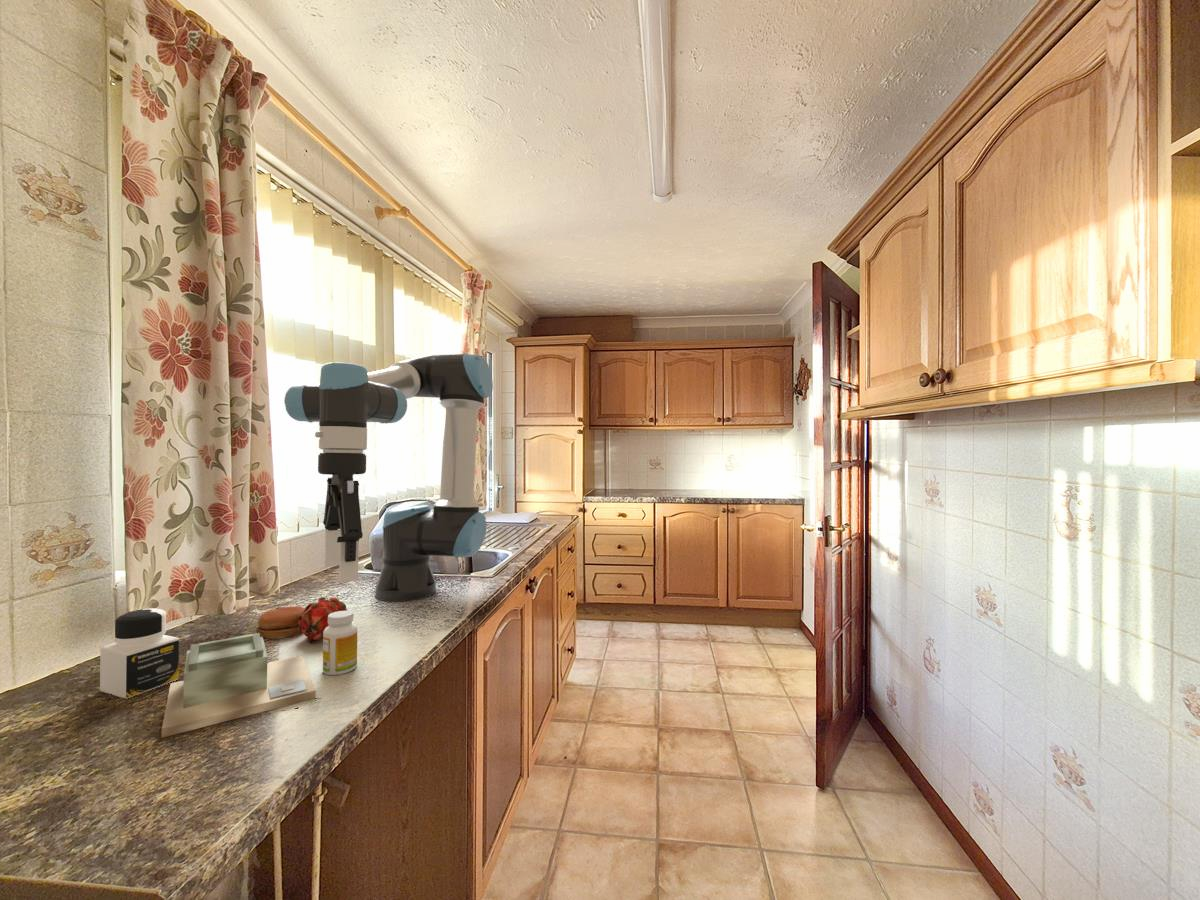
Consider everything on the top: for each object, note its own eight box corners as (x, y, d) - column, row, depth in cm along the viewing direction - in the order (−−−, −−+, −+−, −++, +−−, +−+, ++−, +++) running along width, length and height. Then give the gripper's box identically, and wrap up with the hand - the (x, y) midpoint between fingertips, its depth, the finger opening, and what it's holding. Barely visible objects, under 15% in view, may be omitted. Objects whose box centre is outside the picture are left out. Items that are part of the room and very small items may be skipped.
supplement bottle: (362, 662, 90) (363, 609, 90) (348, 676, 85) (348, 619, 85) (332, 662, 90) (333, 608, 90) (316, 676, 84) (316, 619, 84)
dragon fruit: (339, 632, 108) (315, 664, 97) (305, 612, 107) (275, 641, 95) (362, 602, 108) (340, 630, 96) (328, 581, 106) (301, 607, 95)
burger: (286, 641, 99) (287, 618, 99) (244, 639, 100) (245, 616, 100) (320, 624, 109) (320, 603, 109) (281, 622, 110) (281, 601, 110)
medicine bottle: (126, 700, 76) (127, 621, 76) (98, 691, 78) (99, 615, 78) (179, 680, 82) (180, 608, 82) (152, 673, 85) (153, 603, 85)
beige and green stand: (301, 662, 90) (302, 622, 90) (315, 697, 77) (316, 651, 77) (170, 690, 79) (171, 645, 79) (161, 737, 66) (162, 683, 66)
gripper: (308, 451, 95) (305, 562, 95) (331, 451, 75) (329, 591, 75) (351, 451, 99) (349, 557, 99) (384, 452, 80) (381, 584, 79)
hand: (340, 572), depth 87 cm, fingers open, 13 cm apart
